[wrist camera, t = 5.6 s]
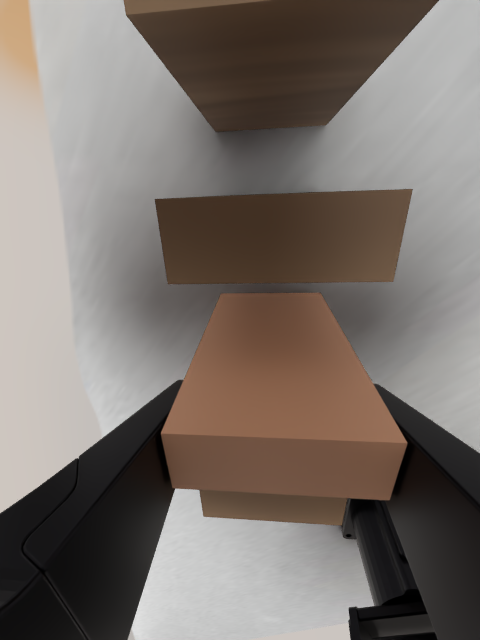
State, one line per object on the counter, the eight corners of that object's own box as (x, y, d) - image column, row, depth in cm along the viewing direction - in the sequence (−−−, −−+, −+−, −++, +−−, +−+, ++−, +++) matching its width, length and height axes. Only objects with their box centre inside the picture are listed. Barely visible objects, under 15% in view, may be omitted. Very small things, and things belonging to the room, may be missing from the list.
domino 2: (317, 230, 14) (393, 281, 6) (221, 232, 14) (167, 284, 6) (320, 191, 13) (413, 188, 5) (219, 195, 14) (154, 199, 6)
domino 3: (221, 293, 14) (160, 433, 6) (320, 292, 13) (407, 443, 5) (223, 324, 15) (172, 488, 6) (317, 325, 14) (389, 500, 6)
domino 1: (326, 125, 12) (455, -19, 4) (215, 131, 12) (125, 14, 4) (330, 72, 11) (501, -237, 3) (212, 82, 12) (97, -172, 4)
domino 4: (305, 373, 18) (341, 525, 10) (230, 372, 18) (203, 516, 10) (307, 350, 17) (348, 493, 9) (229, 349, 17) (198, 485, 9)
